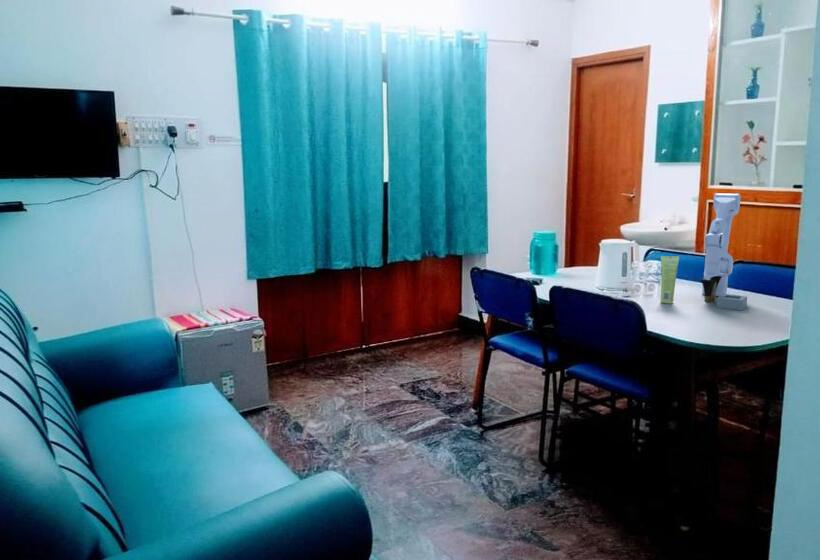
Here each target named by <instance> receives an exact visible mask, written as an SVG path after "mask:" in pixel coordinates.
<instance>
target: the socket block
mask: <svg viewBox="0 0 820 560" xmlns="http://www.w3.org/2000/svg"><path fill="white" fill-rule="evenodd" d="M716 302H717V303H716V308H718V309H719V308H721V309H726V310H727V309H729V310H735V311H742V310H744V309H745V308H746V307H747V303H748V296H746V295H738V294H737V295H736V294H730V293H729V294H722V295H721V296H717V301H716Z"/></svg>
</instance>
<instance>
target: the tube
mask: <svg viewBox="0 0 820 560" xmlns="http://www.w3.org/2000/svg"><path fill="white" fill-rule="evenodd" d="M679 262H680V256H679V255H677V256H676V255H675V256H672V255H671V256H669V255H667V256H666V255H665V256H664V255H661V256H660V267H661V268H660V273H661V275H660V276H661V277H660V282H661V283H660V299H659V300H660V303H662V304H668V305H669V304H673V303H674V299H675V298H674V296H675V289H676V288H675V287H676V280H677V279H676V278H677V273H678V268H679V267H678V266H679Z"/></svg>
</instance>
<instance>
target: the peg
mask: <svg viewBox="0 0 820 560" xmlns="http://www.w3.org/2000/svg"><path fill="white" fill-rule="evenodd" d="M715 295H716V282H715V284H714V287H713V290H712V294H711V296H705V295H704V300H703V301H704V302H705V303H716V296H715Z"/></svg>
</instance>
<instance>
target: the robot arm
mask: <svg viewBox="0 0 820 560" xmlns="http://www.w3.org/2000/svg"><path fill="white" fill-rule="evenodd" d="M712 203H713V204H712V205H713V210H714V212H715V214H716V215H715V219H713V220H712V221H711V222H710V223H711V224H710V226H709V230H708V233H707V234H706V235H705V237H704V251H705V257H704V259H705V260H704V261H705V262H704V270H703V271H704V272H703V277H702V278H701V279H700V282H701V284H702V291H701V295H704V297H705V296H711V294H712V290H713V287H714V284H715V282H716V295H715V297H719V296H721V295H722V294H730V293H729V292H727V291H728V282H729V281H728V279H729V275H730V276H731V274H732V273H733V269H734V258H733V256H732V255H731V254H730V253H729V252H728V249H729V241H730V235H731V229H732V221H733V218H734V216H736V215H738V214H739V212H740V207H741V206H740V205H741V194H740V193H718V192H717V193H714V195H713V202H712Z"/></svg>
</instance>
